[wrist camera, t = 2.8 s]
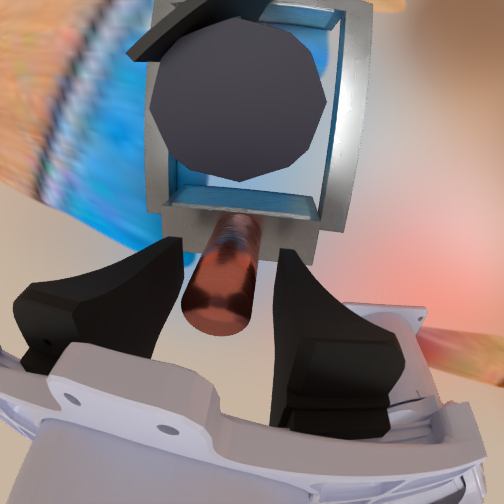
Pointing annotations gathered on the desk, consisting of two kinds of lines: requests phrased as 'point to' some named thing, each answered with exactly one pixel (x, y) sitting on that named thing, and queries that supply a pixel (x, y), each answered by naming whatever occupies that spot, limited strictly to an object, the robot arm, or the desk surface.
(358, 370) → the robot arm
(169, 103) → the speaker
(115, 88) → the desk surface
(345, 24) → the vise body
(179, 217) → the jaw slide
